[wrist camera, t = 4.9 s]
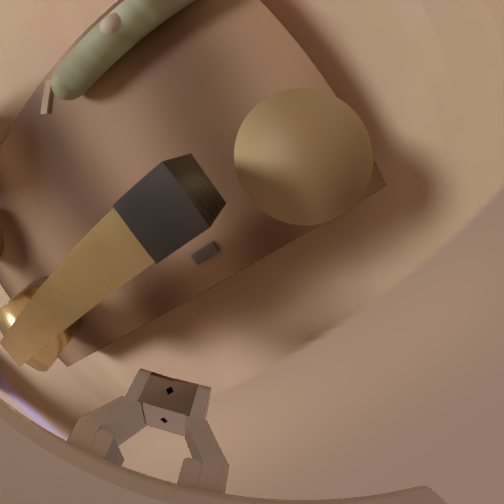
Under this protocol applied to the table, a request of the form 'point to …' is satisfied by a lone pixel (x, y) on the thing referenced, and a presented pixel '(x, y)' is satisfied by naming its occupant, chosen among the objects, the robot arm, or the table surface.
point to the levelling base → (177, 149)
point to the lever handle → (110, 258)
